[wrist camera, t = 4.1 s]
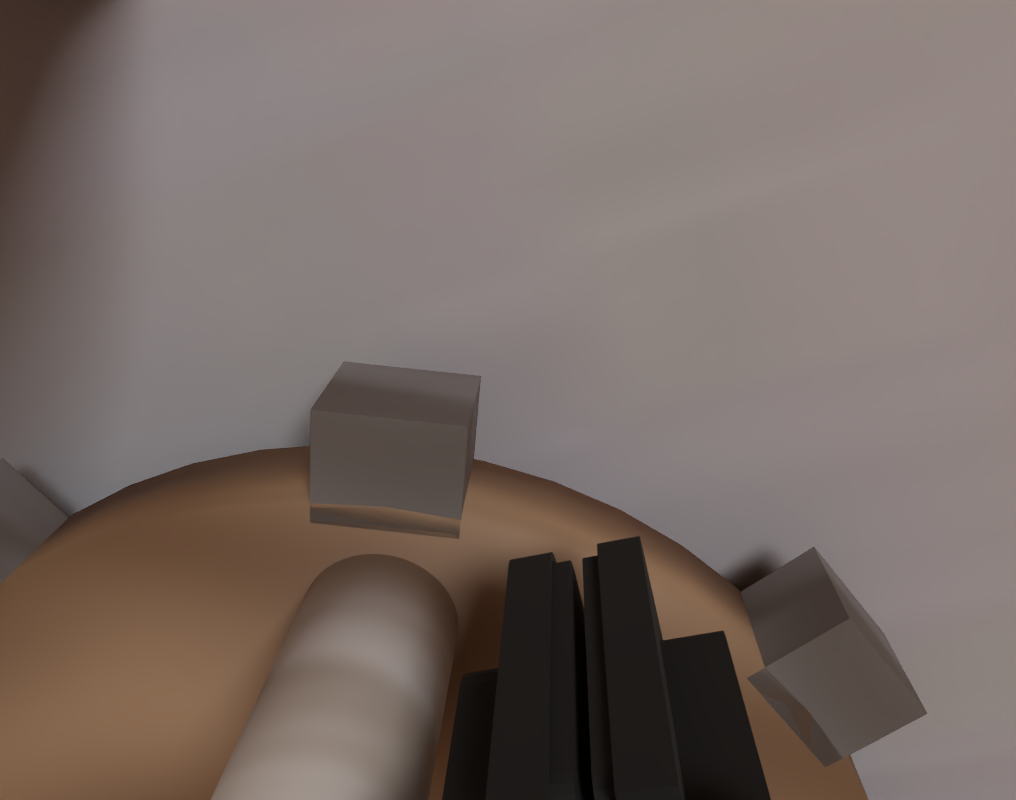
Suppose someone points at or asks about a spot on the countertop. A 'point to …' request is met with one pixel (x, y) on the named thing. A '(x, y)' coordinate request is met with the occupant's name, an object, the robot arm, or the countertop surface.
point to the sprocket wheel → (363, 617)
